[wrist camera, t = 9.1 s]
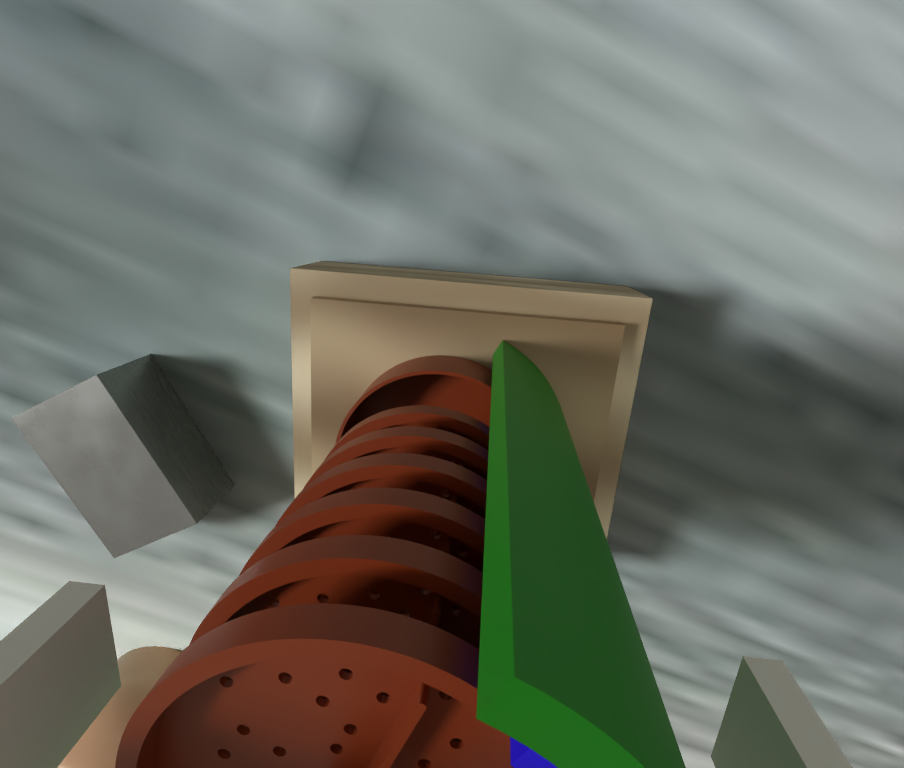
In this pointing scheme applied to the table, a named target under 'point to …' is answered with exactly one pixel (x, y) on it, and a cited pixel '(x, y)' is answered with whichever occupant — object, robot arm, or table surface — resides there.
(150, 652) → the tan rounded cylinder
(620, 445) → the plinth
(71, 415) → the grey stone block
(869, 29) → the table surface
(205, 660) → the motor
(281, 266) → the table surface
